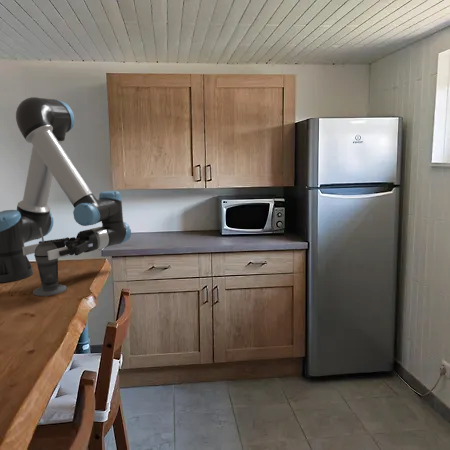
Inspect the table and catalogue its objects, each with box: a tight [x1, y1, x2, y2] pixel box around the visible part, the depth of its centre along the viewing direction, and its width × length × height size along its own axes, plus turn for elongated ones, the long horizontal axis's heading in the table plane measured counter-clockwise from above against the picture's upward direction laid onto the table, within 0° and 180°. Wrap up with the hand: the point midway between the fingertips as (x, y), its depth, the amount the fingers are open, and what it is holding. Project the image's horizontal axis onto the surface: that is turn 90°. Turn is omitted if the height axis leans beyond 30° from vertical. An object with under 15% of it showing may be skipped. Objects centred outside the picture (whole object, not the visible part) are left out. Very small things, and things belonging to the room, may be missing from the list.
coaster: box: [32, 283, 68, 297], centre depth 145 cm, size 10×10×1 cm
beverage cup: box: [34, 228, 59, 292], centre depth 143 cm, size 7×7×20 cm
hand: (35, 253), depth 140 cm, fingers open, 13 cm apart
